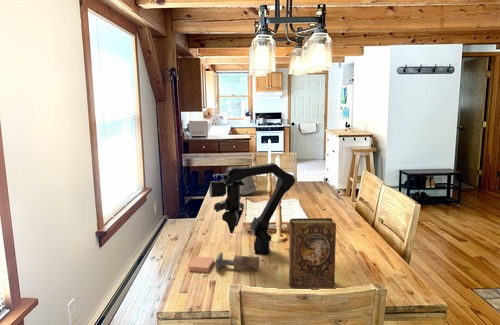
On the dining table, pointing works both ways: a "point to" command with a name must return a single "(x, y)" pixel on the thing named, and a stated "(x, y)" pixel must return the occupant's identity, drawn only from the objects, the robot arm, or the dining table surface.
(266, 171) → the robot arm
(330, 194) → the dining table surface
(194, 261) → the tile
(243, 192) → the vessel
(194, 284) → the dining table surface
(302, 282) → the book
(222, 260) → the scraper
